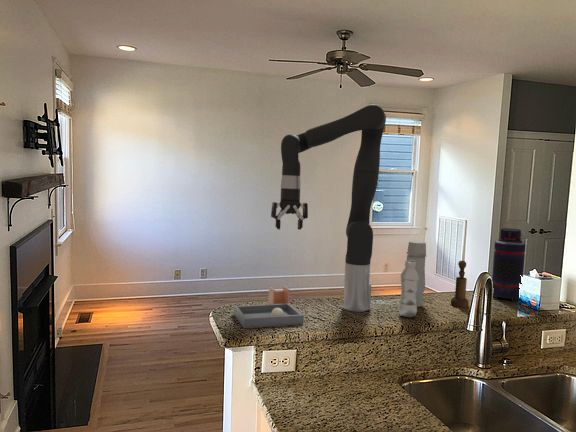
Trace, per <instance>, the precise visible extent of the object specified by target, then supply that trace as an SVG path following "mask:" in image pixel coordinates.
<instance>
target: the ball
mask: <svg viewBox="0 0 576 432" xmlns="http://www.w3.org/2000/svg"><path fill="white" fill-rule="evenodd" d="M271 315H272V316H283V310H282V309H281V308H274V309H273V310H272V313H271Z"/></svg>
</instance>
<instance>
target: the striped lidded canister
mask: <svg viewBox="0 0 576 432" xmlns="http://www.w3.org/2000/svg"><path fill="white" fill-rule="evenodd" d="M499 234H500V235H499V236H500V237H499V238H498V239H497V240H496V241H495V240H494V246H493V247H494V248H493V249H494V251H493V264H492V275H491V276H492V277H491V282H492V281H493V288H494V293H493V295H492V296H493V299H496V300H498V298H501V299H508V300H509V299H510V300H511V301H512V302H517V301H518V300H519V299H518V298H519V289H520V288H519V283H520V284H522V283H521V276H522V277H523V278H524V268H525V257H526V255H525V252H526V243H523V242H525V241H524V239H525V238H524V235H523V232H522V230H521V229H520V228H511V227H503V228H500V233H499ZM520 275H521V276H520ZM522 285H523V284H522Z"/></svg>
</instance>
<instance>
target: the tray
mask: <svg viewBox="0 0 576 432" xmlns="http://www.w3.org/2000/svg"><path fill="white" fill-rule="evenodd" d="M274 308H281V309H282V310H283V316H272V315H271V313H272V310H273V309H274ZM233 316H235V318H236V319H237V321H238V322H239V323H240V325H241V326H242V327H243V329H251V328H253V329H255V328H267V327H269V328H270V327H284V326H285V327H286V326H295V325H296V326H298V325H304V319H305V318H304V316H305V315H304V314H303V313H301V312H300V311H299V310H298V309H297V308H296V307H294V306H293V305H292V304H291V303H290V302H289V303H285V304H254V305H253V304H252V305H250V304H249V305H234V306H233Z"/></svg>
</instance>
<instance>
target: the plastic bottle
mask: <svg viewBox="0 0 576 432" xmlns="http://www.w3.org/2000/svg"><path fill="white" fill-rule="evenodd" d="M415 267H416V262H415V261H407V260H405V262H404V268H403V269H402V271H401V273H400V285H401V286H400V289H401V290H400V297H399V298H400V299H399V303H398V308H397V309H398V314H399V315H400V316H401V317H405V318H414V317H416V315H417V312H418V307H417V305H416V291H417V284H418V280H419V275H418V273H417V271H416V270H415Z"/></svg>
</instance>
